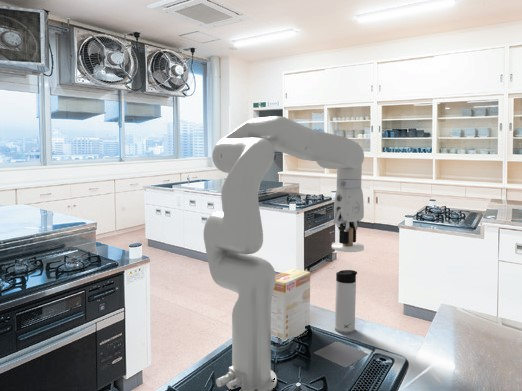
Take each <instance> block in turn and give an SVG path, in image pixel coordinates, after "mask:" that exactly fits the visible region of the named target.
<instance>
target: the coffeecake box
mask: <svg viewBox="0 0 522 391" xmlns="http://www.w3.org/2000/svg"><path fill="white" fill-rule="evenodd" d="M310 313H311V271H306V270H302V269H299V268H298V269H297V268H291V269H289V270H286V271H284V272H281V273H278V274H276V279H275V286H274V290H273V295H272V303H271V336H274V337H278V338H280V339H282V340H286V339H289V338H292V337H297V336H299V335H300V334H302V333H303V332H304V331H305V330H306V329H305V326H306V325H310V321H311V318H310V317H311V316H310V315H311V314H310ZM310 326H311V325H310ZM299 337H300V336H299Z"/></svg>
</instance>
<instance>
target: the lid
mask: <svg viewBox="0 0 522 391" xmlns="http://www.w3.org/2000/svg"><path fill="white" fill-rule="evenodd" d="M348 232H349V244H342V243H339V242H338V241H337V242H333V243H332V244H331V249H332V250H334V251H338V252H341V253H342V252H344V253H358V252H362V251H364V250H365V245H364V244H362V243H359V242H355V243H354V242H353V228H351V227H348Z"/></svg>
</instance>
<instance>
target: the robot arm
mask: <svg viewBox="0 0 522 391" xmlns="http://www.w3.org/2000/svg"><path fill="white" fill-rule="evenodd" d="M275 151H277V152H279V153H283V154H285V155H288V156H291V157H293V158H296V159H299V160H304V161H311V162H316V163H317V165H318V166H319V167H320V168H323V169H327V170H328V169H329V170H336V191H335V196H334V205H333V213H334V214H333V218H334V220H333V224H334V226H336V227H337V231H338V233H339V234H338V235H339V240H338V241H339V243H342V244H349V232H348V227H351V228H353V242H354V243H357V230H358V226H359V223H360V222H361V221H362V220H363V219H364V215H365V211H364V210H365V208H364V207H365V206H364V194H363V189H362V174H363V173H362V172H363V171H362V170H363V167H362V166H363V164H364V159H365V151H364V149H363V147H362V146H361V145H360V144H359V143H358V142H356V141H354V140H352V139H350V138H348V137H346V136H342V135H337V134H332V133H328V132H325V131H320V130H316V129H312V128H310V127H307V126H305V125H303V124H301V123H299V122H296V121H294V120H292V119H290V118H288V117H286V116H282V115H280V116H279V115H272V116H271V115H270V116H263V117H262V116H261V117H255V118H251V119H250V120H247V121H246V122H244V123H242V124H240V126H238V127H237V128H235V129H234V130H233V131H231V132H230V133H228V134H227V135H226V136H224V137H223V138H221V139H220V140H219V141H217V143H216V144H215V146H214V148H213V150H212V155H211V157H212V162H213V165H214V166H215V167H216V169H218V170H219V171H220V172H222V173H226V174H227V175H226V178H225V179H224V181H223V184H222V187H221V192H220V193H221V194H220V196H221V197H220V199H221V208H222V210H218V211H215V212H213V213H212V214H210V215H209V217H208V218H207V219H206V222H205V224H204V229H203V242H204V247H205V252H206V257H207V258H206V259H207V262H208V269H209V272H210V276H211V278H212V280H213V282H214V283H215V284H216V285H218V286H219V287H221V288H224V289H227V290H229V291H232V292H235V293H236V294H238V296H237V300H236V301H235V304H234V306H233V308H232V312H231V345H232V346H231V351H232V352H231V362H232V363H231V366H229V367H228V372H226V374H225V375H222V376H221V377H218V378H216V379H215V384H216V387H217V388H221V387H223V386H225V385H226V387H227V388H228V390H230V389H233V388H236V387H241V389H240V390H239V391H273V390H274V389H275V388H276V386H277V382H278V376H277V374H276V373H275V372H274V371H273V370H272V369H271V368H272V367H271V365H272V360H271V359H272V355H271V354H272V351H271V350H272V347H271V346H272V345H271V344H272V342H271V303H272V295H273V290H274V286H275V279H276V275H277V273H276V270H275V268H274V266H273V265H272V264H271V263H270V262H269V261H267V260H266V259H264V258H261V257H260V256H255V255H253V254H256V253H258V251H260V250H261V248H262V247H263V243H264V231H263V225H262V216H261V211H260V204H259V202H260V201H259V189H260V186H261V183H262V181H263V179H264V177H265V176H266V174H268V172H269V170H270V169H271V167H272V165H273V164H274V160H275ZM274 378H275V380H273V379H274ZM273 381H274V382H273ZM273 388H274V389H273Z"/></svg>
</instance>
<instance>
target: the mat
mask: <svg viewBox="0 0 522 391" xmlns="http://www.w3.org/2000/svg"><path fill="white" fill-rule="evenodd" d="M336 341H337V340H336ZM336 341H334V342H332V343H331V344H329V345H328V344H327V345H326V346H324V347H321V348H320V349H318V350H316V351H314V352H313V354H315V355H317V356H319V357H321V358H323V359H325V360H327V361H330V362H331V363H334V364H336V365H338V366H340V367H343V368H347V367H349V366H351V365H353V364H355V363H356V362H358V361H359V360H361V359H363V358H365V357H367V356H368V355H369V353H367V352H364V351H362V350H360V349H358V348H355V347H353V346H350V345H347V344H345V343H343V342H341V341H337V342H336Z"/></svg>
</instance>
